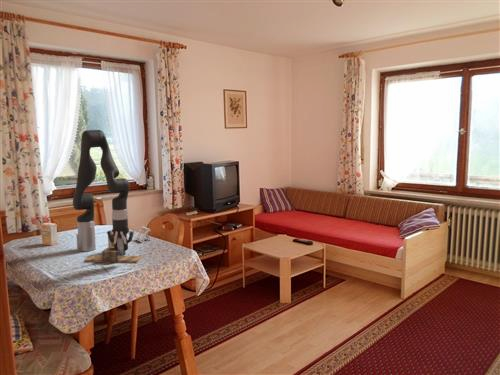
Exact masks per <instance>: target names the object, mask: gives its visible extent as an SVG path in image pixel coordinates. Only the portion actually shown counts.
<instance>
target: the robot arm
mask: <svg viewBox="0 0 500 375" xmlns="http://www.w3.org/2000/svg"><path fill="white" fill-rule="evenodd" d="M107 139H108V138H107V137H106V135H105V132H104V131H103V130H101V129H89V130H84V131H83V132H82V135H81V139H80V155H79V156H80V158H79V165H78V169H77V178H76V185H75V190H74V193H73V197H72V207H73V209H74V210H76V211H82V210H85V211H84V212H83V213H82V214H79V215H78V216H77V217H76V221H77V223H76V224H77V234H76V248H77V251H79V252H90V251H91V252H92V251H94V250H96V248H97V246H96V245H97V244H96V229H95V197H94V195H93V194H92V193H91V192H90V193H89V192H88V193H86V192H85V191H86V190H87V188H89V187H90V186H91V184H92V183H93V182H94V181H95V179H96V175H97V171H98V170H97V164H96V163H95V161H94V159H93V158H92V156H91V149H93V148H100V149H101V152H102V154H101V157H100V167H101V170H102V171H103V174H104V175H105V179H106V185H107V186H106V187H107V190H108V191H109V193H111V194H118V195H117V196H116V197H114V198H112V199H111V206H112V208H111V222H112V224H111V225H112V229H111V230H108V231H107V232H106V234H107V238H108V237H109V239H110V242H113V243H114V249H115V250H116V251H117V238H119V237H121V238H122V239H123V240H124V243H125V244H124V251H128V249H129V244H130V243H131V242H132V241H133V238H134V234H135V231H134V230H130V229H129V218H128V217H129V215H128V206H127V205H128V204H127V203H128V197H129V193H130V189H131V188H130V186H131V185H130V181H129V180H128V179H127V178H125V177H124V178H118V177H119V175H120V170H119V168H118V166H117V164H116V162H115V160H114V157H113V155H112V152H111V150H110V149H111V148H110V146H109V143H108V140H107ZM113 233H114V235H115V238H114V237H113V235H112V234H113ZM128 235H129V236H128Z"/></svg>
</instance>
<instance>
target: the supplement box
mask: <svg viewBox="0 0 500 375" xmlns="http://www.w3.org/2000/svg"><path fill="white" fill-rule="evenodd" d="M40 226H41V228H40V229H41V244H42V245H45V246H50V247H51V246H54V245H58V244H59V243H58V226H57V223H53V222H44V223H41V224H40Z"/></svg>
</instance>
